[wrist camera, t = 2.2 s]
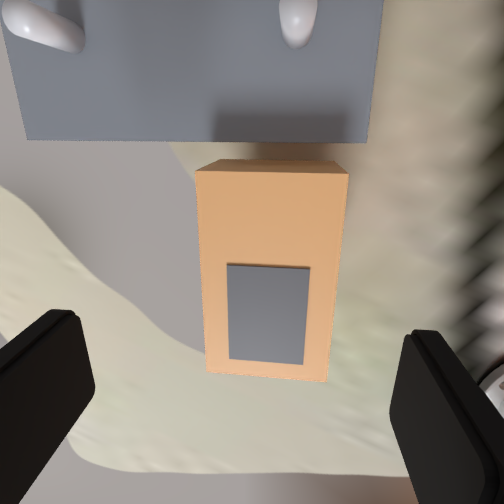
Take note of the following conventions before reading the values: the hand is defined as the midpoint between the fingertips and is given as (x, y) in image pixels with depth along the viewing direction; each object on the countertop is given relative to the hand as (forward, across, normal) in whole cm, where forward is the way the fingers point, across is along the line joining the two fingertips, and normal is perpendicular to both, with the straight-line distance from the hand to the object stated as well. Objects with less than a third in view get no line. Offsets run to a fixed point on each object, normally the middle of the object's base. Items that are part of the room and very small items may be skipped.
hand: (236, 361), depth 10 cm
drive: (+10, -1, 0) cm, 10 cm away
